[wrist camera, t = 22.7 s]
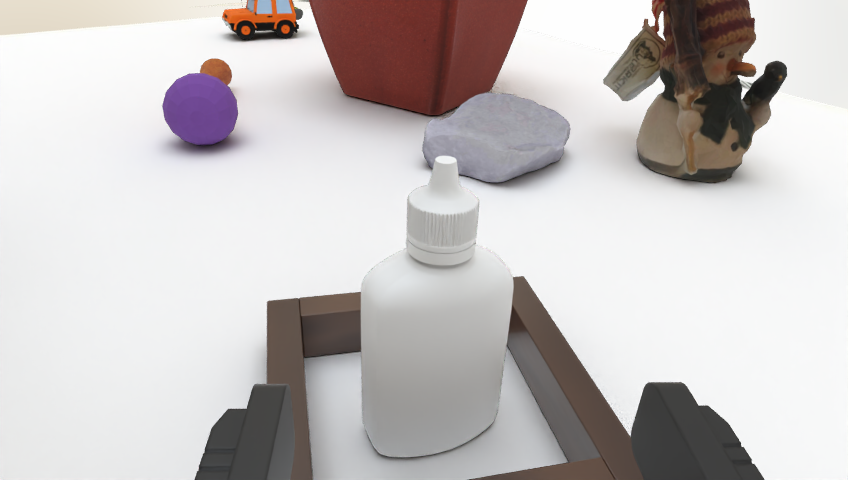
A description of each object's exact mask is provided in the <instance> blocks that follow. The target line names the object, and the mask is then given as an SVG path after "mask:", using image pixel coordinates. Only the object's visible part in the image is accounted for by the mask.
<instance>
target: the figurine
mask: <svg viewBox="0 0 848 480" xmlns="http://www.w3.org/2000/svg"><path fill="white" fill-rule="evenodd" d="M661 11H663V12H664V32H663V35H664V37H665V41H664V40H663V39H662V38H661V37H660V36H658V34H657V32H658V31H659V24H658V19H659V15H660V13H661ZM652 12H653V14H654V17H655V19H656V20H655V26H652V27H650V26H649V25H648V19H645V20H644V26H643V27H642V28H643V30H642V31H641V32H640V33H639V34H638V35H637V36H636V37H635V38H634V39H633V40H632V41H631V42H630V44H629V46H628V48H627V49H626V50H625V52H624V53H623V54H622V56H621V57H620V58H619V60H618V61H617V62H616V63H615V64H614V66H613V67H612V68H611V70H610V71H609V73H608V75H607V76H606V77H605V78H604V79H603V80H604V84H605V85H607V86H608V87H610V88H611V89H612V90H613V91H614V92H615V93H616V94H618V95H619V97H620V98H621V100H622V101H629V100H631V99H633V98H635V97H636V96H637V95H638V94H640V93H641V92H642V91H643V90H644V89H646V88H647V87H649V86H650V85H652V84H653V83H654V82H655V81H656V79H657V78H658V77H659V76H660V78H661V80H662V82H663V83H664V85H665V90H664V92H663V93H661V94H659V95H658V96H657V97H656V99H655V100H654V101H653V103H652V104H651V106H650V107H649V108H648V110H647V112H646V115H645V117H644V120H643V122H642V125H641V128H640V131H639V134H638V138H637V151H638V155H639V157H640V159H641V161H642V163H644V164H645V165H647V166H648V168H649V169H651V170H653V171H655V172H658V173H661V174H664V175H668V176H672V177H677V178H681V179H688V180H696V181H704V182H714V183H716V182H720V181H725V180H727V178H730V177H731V175H732V173H733V172H734V171H735V170H736V169H737V168H738V167H739V166H740V165H741V163H742V157H743V154H744V153H745V152H746V151H747V150H748V149H749V147H750V146H751V142H752V136H753V134H754V133H755V131H757V130H758V129H759V128H761V127H762V126H763V125H765V124H766V123H767V122H768V120H769V118H770V116H771V110H770V106H769V103H770V101H771V99H772V97H773V96H774V95H775V94H776V93H777V91H778V90H779V88H780V86H781V85H782V83H783V82H784V80H785V78H786V76H787V67H786V65H785V64H784V63H782V62H779V61H774V62H771V63H769V64H767V66H766V68H765V71H764V74H763V75H762V76H761V77H760V78H758V79H757V80H756V81H755V82H754V83H753V84H752V86H751V88H750V90H749V91H748V92H747V93H746V94H745V96H744V98H743V99H742V100H741V92H742V86H741V84H740V79H739V78H738V76H737V75H742V76H745V77H753V76H754V75H755V74H756V68H755V66H753V65H752V64H749V63H744V62H742V58H743V55H744V53H746V52H747V51H748V50H749V49H750V47H751V46H752V45H753V43H754V42H755V40H756V34H755V32H754V23H755V22H754V21H755V19H754V18H751V14H750V8H749V1H748V0H652Z"/></svg>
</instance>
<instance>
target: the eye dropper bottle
mask: <svg viewBox="0 0 848 480" xmlns="http://www.w3.org/2000/svg"><path fill="white" fill-rule="evenodd" d="M478 213H479V199H478V197H477V196H476V195H475V194H474V193H473V192H471V191H470V190H468V189H466V188H464V187H461V185H460V182H459V175H458V167H457V160H456V158H454V157H451V156H439V157H436V158H435V162H434V166H433V170H432V174H431V178H430V181H429V183H428V185H424V186H421V187H419V188H417V189H415V190H413V191H412V192H411V193H410V195H409V196H408V203H407V240H406V248H405V249H403V250H401V251H399V252H397V253H395V254H393V255H391V256H390V257H388V258H387V259H385V260H384V261H382V262H380V263H379V264H378V265H376V266H375V267H374V268H372V269H371V270H370V271H369V272H368V274H367V275H366V276H365V277H364V279H363V281H362V287H361V370H362V419H363V424H364V426H365V429H366V431H367V434H368V436H369V438H370V440H371V443H372V445H373V447H374V448H375V449H376V450H377V451H378V452H379V453H380V454H382V455H385V456H389V457H416V456H425V455H431V454H436V453H440V452H443V451H447V450H450V449H452V448H455V447H457V446H460V445H462V444H464V443H466V442H468V441H470V440H471V439H473V438H474V437H476V436H477V435H479V434H480V433H482V432H483V431H484V430H485V429H487V428H488V427H489V426H490V425H491V424H492V423H493V421H494V419H495V417H496V415H497V411H498V405H499V398H500V391H501V383H502V376H503V369H504V361H505V354H506V346H507V339H508V331H509V324H510V316H511V307H512V298H513V288H514V287H513V277H512V274H511V271H510V269H509V268H508V267H507V265H506V264H505V263H504V262H503V261H502V260H501V258H499V257H498V256H497V255H496V254H495V253H494V252H492V251H491V250H489V249H487V248H485V247H483V246H479V245H476V234H477V223H478Z"/></svg>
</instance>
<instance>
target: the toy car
mask: <svg viewBox="0 0 848 480" xmlns="http://www.w3.org/2000/svg"><path fill="white" fill-rule="evenodd" d="M302 15H303V11H302V10H301V9H298V8H296V7H294V5H293V2H292V0H247V5H246V8H242V9H229V10H225V11H224V13H223V16H222V19H223V21H224V23H225V25H226V26H228V27H229V28H230V30H232V31H234V32H235V33H237V35H238V36H239V37H240V38H241V39H244V40H246V39H248V40H249V39H250V38H252V37H253V36H254V33H255V30H256V31H266V30H272V31H274V32H275V31H276V32H277V34H278V35H279V36H280V37H282V38H290V36H292V34H293V33H294V32H296V33H297V29H299V25H298V24H297V22H296V20H299V19H301V18H302Z"/></svg>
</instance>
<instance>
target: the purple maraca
mask: <svg viewBox="0 0 848 480" xmlns="http://www.w3.org/2000/svg"><path fill="white" fill-rule="evenodd" d="M231 78H232V73H231V69H230V68H229V66H228V65H227V64H226V63H225V62H224V61H222V60H220V59H209V60H207V61H205V62H204V63H203V65H202V66H201V70H200V73H195V74H188V75H185V76H183V77H181V78H179V79H177V80H176V81H175V82H174V83H173V84H172V86H171V87H170V88H169V89H168V90H167V92H166V94H165V98H164V102H163V112H164V117H165V121H166V122H167V124H168V125H169V127H170V129H171V130H172V132H173V133H175V134H176V135H177V136H179V137H180V138H181V139H183V140H184V141H186V142H190V143H193V144H196V145H213V144H215V143H217V142H219V141H221V140H224V139H225V138H226V137H227V136H228V135H229V134H230V133H231V131H232V130H233V129H234V126H235V123H236V120H237V116H238V109H237V101H236V99H235V97H234V95H233V93H232V91H231V90H230V88H229V87H228V86H227V85H228V84H229V83H230V81H231Z"/></svg>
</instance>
